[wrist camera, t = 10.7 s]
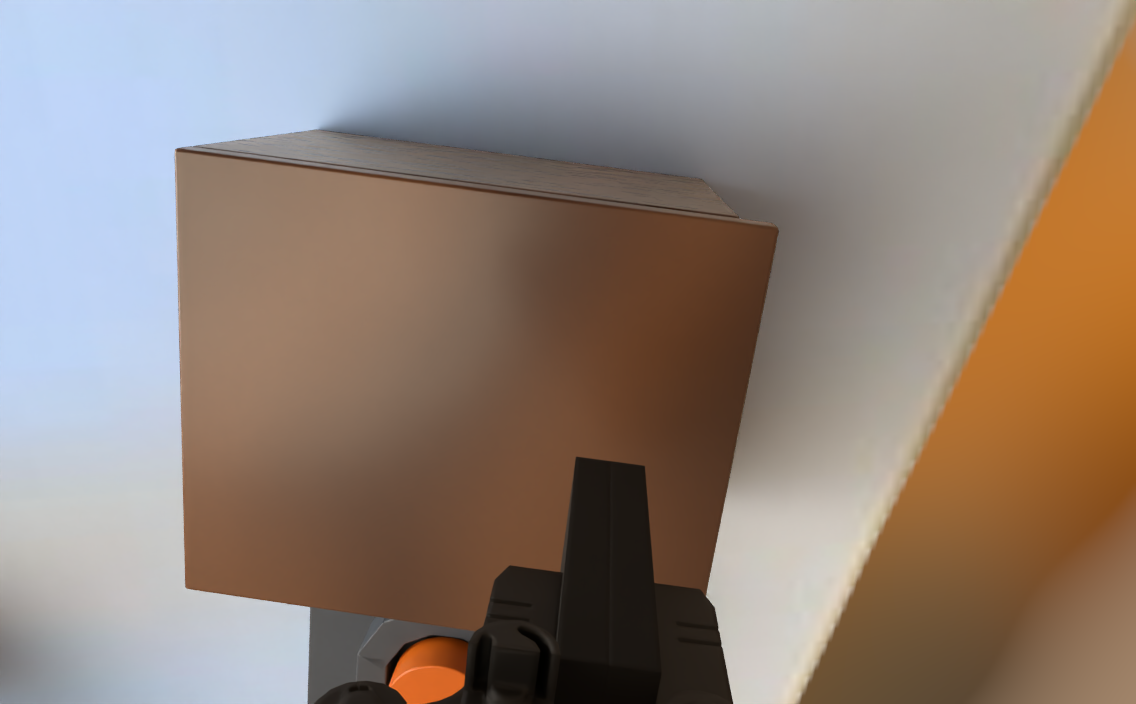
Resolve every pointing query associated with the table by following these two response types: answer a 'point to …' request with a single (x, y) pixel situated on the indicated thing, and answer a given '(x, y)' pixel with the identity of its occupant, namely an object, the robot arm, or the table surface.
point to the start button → (431, 670)
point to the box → (487, 169)
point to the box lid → (444, 378)
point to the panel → (361, 647)
